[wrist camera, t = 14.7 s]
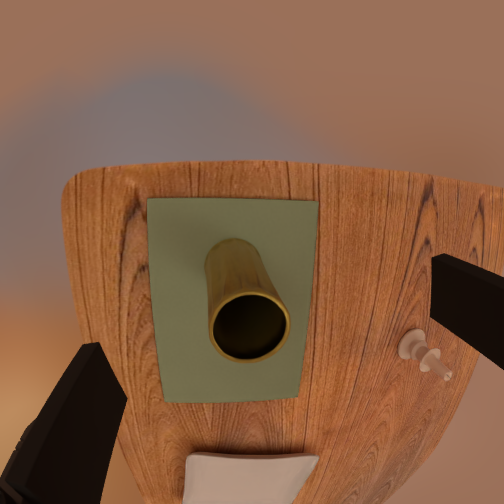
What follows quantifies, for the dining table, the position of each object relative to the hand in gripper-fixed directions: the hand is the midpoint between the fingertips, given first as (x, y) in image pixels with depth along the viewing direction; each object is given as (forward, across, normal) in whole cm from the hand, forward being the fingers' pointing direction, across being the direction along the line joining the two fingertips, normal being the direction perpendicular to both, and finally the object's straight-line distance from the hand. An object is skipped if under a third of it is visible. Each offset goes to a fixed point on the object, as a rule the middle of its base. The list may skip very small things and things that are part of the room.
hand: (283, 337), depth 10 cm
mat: (+22, -2, -9) cm, 24 cm away
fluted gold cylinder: (+22, -1, -4) cm, 22 cm away
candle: (+23, +22, -22) cm, 39 cm away
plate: (+23, -9, -43) cm, 49 cm away
